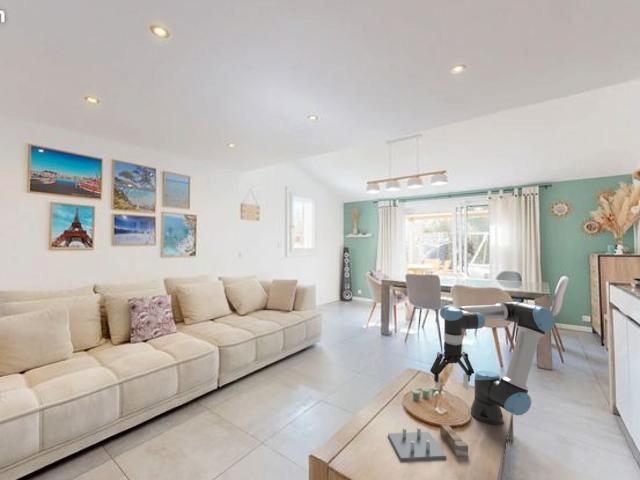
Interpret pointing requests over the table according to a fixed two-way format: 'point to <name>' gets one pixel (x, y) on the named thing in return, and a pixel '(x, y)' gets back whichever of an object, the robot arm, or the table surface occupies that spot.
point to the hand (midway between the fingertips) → (451, 388)
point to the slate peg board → (416, 446)
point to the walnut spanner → (454, 440)
